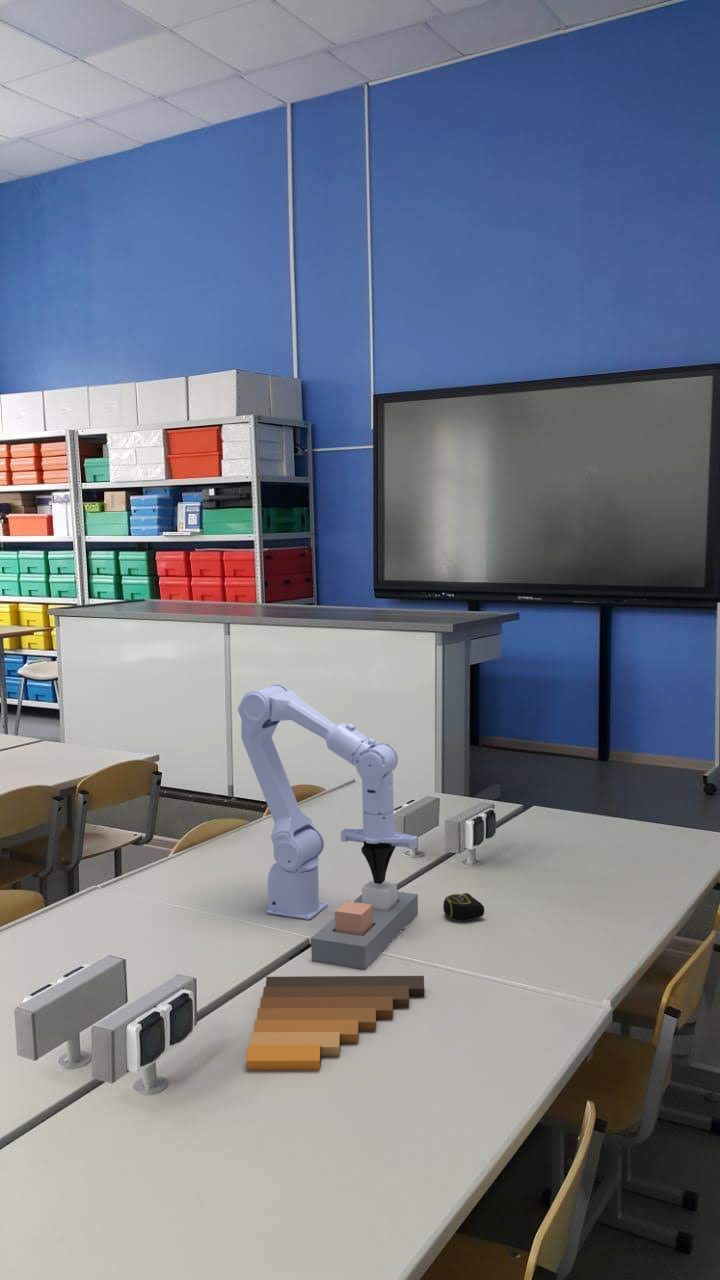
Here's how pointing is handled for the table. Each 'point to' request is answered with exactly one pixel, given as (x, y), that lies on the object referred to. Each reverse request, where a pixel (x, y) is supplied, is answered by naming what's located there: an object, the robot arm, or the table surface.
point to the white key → (380, 895)
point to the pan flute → (321, 1016)
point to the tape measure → (462, 907)
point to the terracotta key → (354, 918)
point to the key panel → (364, 948)
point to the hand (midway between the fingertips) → (379, 882)
